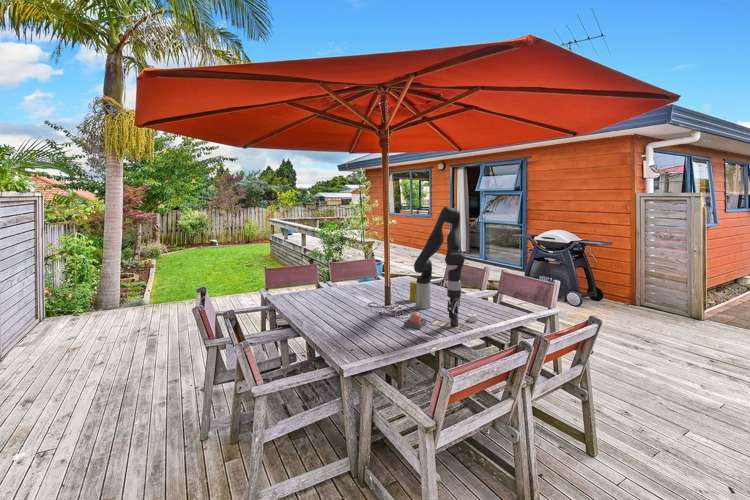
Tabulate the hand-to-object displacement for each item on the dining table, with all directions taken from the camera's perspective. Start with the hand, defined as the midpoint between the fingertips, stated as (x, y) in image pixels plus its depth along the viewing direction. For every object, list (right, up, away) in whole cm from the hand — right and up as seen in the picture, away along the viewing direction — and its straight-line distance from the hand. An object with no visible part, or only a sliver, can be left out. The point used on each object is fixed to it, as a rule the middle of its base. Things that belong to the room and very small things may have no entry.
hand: (453, 316), depth 209 cm
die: (+13, -5, +9) cm, 17 cm away
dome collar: (-21, -7, +2) cm, 22 cm away
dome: (-21, -4, +2) cm, 22 cm away
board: (-3, -6, +3) cm, 8 cm away
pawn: (0, -5, +1) cm, 5 cm away
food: (-14, 0, +61) cm, 63 cm away
